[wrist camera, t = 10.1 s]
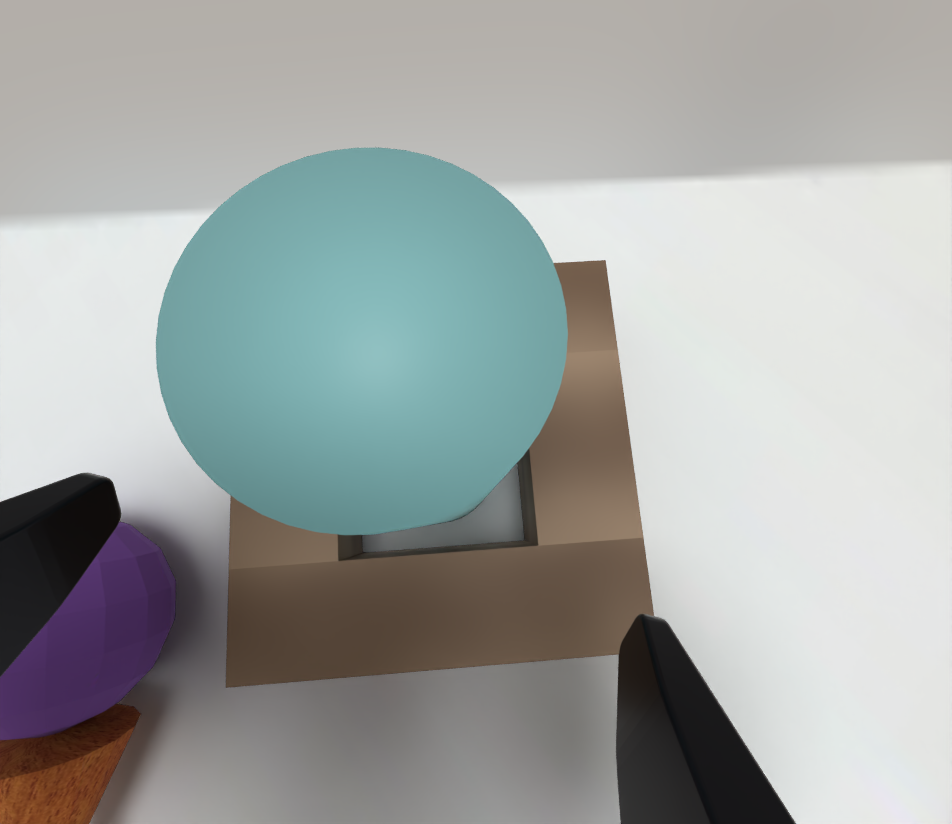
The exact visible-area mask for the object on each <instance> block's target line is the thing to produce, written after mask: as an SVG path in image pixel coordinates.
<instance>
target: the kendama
mask: <svg viewBox="0 0 952 824" xmlns="http://www.w3.org/2000/svg"><path fill="white" fill-rule="evenodd" d="M175 599H176V580H175V578H174V576H173V574H172V571H171V569H170V567H169V565H168V563H167V561H166V559H165V557H164V555H163V553H162V550H161V548H159V547H158V546H157V545H156V544H154V543H153V542H152V541H150V540H149V539H148V538H147V537H145V536H144V535H143V534H142V533H140V532H139V531H138V530H136V529H135V528H134V527H133V526H131V525H130V524H126V523H122V522H119V524H118V526H117V527H116V529H115V530H114V532H113V533H112V535H111V536H110V538H109V539H108V540H107V542H106V543H105V545H104V546H103V547H102V549H101V550H100V552H99V553H98V555H97V556H96V557H95V559H94V560H93V562H92V563H91V564H90V566H89V567H88V569H87V570H86V572H85V573H84V574H83V576H82V577H81V579H80V580H79V581H78V583H77V584H76V586H75V587H74V589H73V590H72V591H71V593H70V594H69V595H68V597H67V598H66V599H65V601H64V602H63V603H62V605H61V606H60V607H59V609H58V610H57V611H56V612H55V614H54V615H53V616H52V617H51V619H50V620H49V621H48V622H47V623H46V624H45V626H44V627H43V628H42V629H41V630H40V632H39V633H38V634H37V635H36V636H35V637H34V639H33V640H32V641H31V642H30V643H29V644H28V646H27V647H26V648H25V649H24V650H23V651H22V653H21V654H20V655H19V656H18V657H17V658H16V660H15V661H14V662H13V663H12V664H11V665H10V667H9V668H8V669H7V670H6V671H5V672H4V674H3V675H2V676H1V677H0V824H89V823H90V821H91V819H92V816H93V814H94V812H95V810H96V808H97V806H98V804H99V802H100V800H101V797H102V795H103V793H104V791H105V789H106V787H107V785H108V783H109V781H110V778H111V776H112V774H113V772H114V770H115V768H116V766H117V764H118V761H119V759H120V757H121V755H122V753H123V751H124V749H125V747H126V745H127V742H128V740H129V738H130V736H131V734H132V732H133V730H134V728H135V726H136V723H137V721H138V719H139V717H140V715H141V713H140V712H139V711H138V710H137V709H136V708H135V707H133V706H126V705H120V704H116V703H118V702H119V701H121V700H122V698H123V697H124V696H125V695H126V694H127V693H128V692H129V691H130V690H131V689H132V688H133V687H134V686H135V685H136V684H137V683H138V682H139V681H140V680H141V679H142V678H143V677H144V676H145V675H146V674H147V672H148V671H149V670H150V669H151V668H152V667H153V665H154V664H155V662H156V660H157V658H158V656H159V653H160V651H161V649H162V647H163V644H164V642H165V640H166V638H167V635H168V633H169V631H170V629H171V626H172V624H173V622H174V620H175Z"/></svg>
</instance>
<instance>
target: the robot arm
mask: <svg viewBox="0 0 952 824" xmlns="http://www.w3.org/2000/svg"><path fill="white" fill-rule="evenodd" d="M120 518H121V510H120V506H119V502H118V498H117V495H116V491H115V487H114V484H113V482H112V481H111V480H110V479H109V478H107V477H104V476H100V475H96V474H92V473H80V474H77V475H74V476H71V477H69V478H66V479H63V480H60V481H57V482H55V483H52V484H49V485H46V486H43V487H41V488H38V489H35V490H32V491H29V492H27V493H24V494H21V495H18V496H15V497H13V498H10V499H7V500H4V501H2V502H0V677H1V676H2V675H3V674H4V672H5V671H6V670H7V669H8V668H9V667H10V665H11V664H12V663H13V662H14V661H15V660H16V658H17V657H18V656H19V655H20V654H21V653H22V651H23V650H24V649H25V648H26V647H27V646H28V644H29V643H30V642H31V641H32V640H33V639H34V637H35V636H36V635H37V634H38V633H39V632H40V630H41V629H42V628H43V627H44V626H45V624H46V623H47V622H48V621H49V620H50V619H51V617H52V616H53V615H54V614H55V612H56V611H57V610H58V609H59V607H60V606H61V605H62V603H63V602H64V601H65V599H66V598H67V597H68V595H69V594H70V593H71V591H72V590H73V589H74V587H75V586H76V584H77V583H78V581H79V580H80V579H81V577H82V576H83V574H84V573H85V572H86V570H87V569H88V567H89V566H90V564H91V563H92V562H93V560H94V559H95V557H96V556H97V555H98V553H99V552H100V550H101V549H102V547H103V546H104V545H105V543H106V542H107V540H108V539H109V538H110V536H111V535H112V533H113V532H114V530H115V529H116V527H117V526H118V524H119V521H120ZM616 761H617V778H618V792H619V805H620V819H621V824H796V823H795V821H794V820H793V818H792V817H791V815H790V813H789V812H788V810H787V809H786V807H785V806H784V804H783V802H782V801H781V799H780V798H779V796H778V795H777V793H776V792H775V790H774V788H773V787H772V785H771V784H770V782H769V781H768V779H767V777H766V776H765V774H764V773H763V771H762V770H761V768H760V766H759V765H758V763H757V762H756V760H755V759H754V757H753V755H752V754H751V752H750V751H749V749H748V748H747V746H746V745H745V743H744V741H743V740H742V738H741V737H740V735H739V734H738V732H737V730H736V729H735V727H734V726H733V724H732V723H731V721H730V719H729V718H728V716H727V715H726V713H725V712H724V710H723V709H722V707H721V705H720V704H719V702H718V701H717V699H716V698H715V696H714V694H713V693H712V691H711V690H710V688H709V687H708V685H707V683H706V682H705V680H704V679H703V677H702V676H701V674H700V672H699V671H698V669H697V668H696V666H695V665H694V663H693V662H692V660H691V658H690V657H689V655H688V654H687V652H686V651H685V649H684V647H683V646H682V644H681V643H680V641H679V640H678V638H677V636H676V635H675V633H674V632H673V630H672V629H671V627H670V626H669V624H668V623H667V622H666V621H665V620H664V619H662V618H659V617H655V616H651V615H647V614H639V615H638V616H637V617H636V618H635V620H634V621H633V623H632V625H631V627H630V628H629V630H628V632H627V633H626V635H625V637H624V638H623V640H622V642H621V645H620V650H619V664H618V697H617V729H616Z"/></svg>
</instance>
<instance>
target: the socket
mask: <svg viewBox="0 0 952 824" xmlns="http://www.w3.org/2000/svg"><path fill="white" fill-rule="evenodd" d="M553 264H554V266H555V269H556V272H557V275H558V278H559V280H560V283H561V287H562V292H563V296H564V301H565V306H566V314H567V329H568V339H567V353H566V362H565V367H564V372H563V376H562V381H561V385H560V388H559V391H558V394H557V396H556V399H555V402H554V405H553V408H552V410H551V412H550V414H549V416H548V418H547V420H546V422H545V423H544V425H543V427H542V429H541V431H540V433H539V435H538V436H537V437H536V439H535V440H534V442H533V443H532V444H531V446H530V447H529V449H528V450H527V451H526V453H525V454H524V456H523V457H522V458H521V459H520V460H519V461H518V471H519V482H520V494H521V505H522V516H523V527H524V538H525V541H512V542H499V543H486V544H473V545H460V546H447V547H434V548H421V549H408V550H395V551H382V552H368V553H362V535H338V534H329V533H319V532H314V531H310V530H306V529H302V528H298V527H294V526H289V525H287V524H284V523H282V522H279V521H277V520H274V519H272V518H269V517H267V516H264V515H262V514H260V513H258V512H256V511H255V510H253V509H251V508H250V507H248V506H246V505H244V504H243V503H241V502H239V501H237V500H236V499H235V498H234V497H232V496H231V504H230V542H229V581H228V619H227V658H226V688H228V687H240V686H251V685H263V684H275V683H287V682H299V681H310V680H322V679H334V678H346V677H357V676H369V675H381V674H393V673H405V672H416V671H428V670H440V669H452V668H464V667H475V666H487V665H499V664H511V663H522V662H534V661H546V660H558V659H570V658H581V657H593V656H605V655H617V654H619V650H620V645H621V642H622V640H623V638H624V637H625V635H626V633H627V632H628V630H629V628H630V627H631V625H632V623H633V621H634V620H635V618H636V617H637V616H638V615H639V614H647V615H651V616H654V612H653V605H652V597H651V590H650V583H649V575H648V568H647V561H646V554H645V546H644V539H643V532H642V524H641V517H640V510H639V502H638V495H637V488H636V480H635V473H634V466H633V458H632V451H631V444H630V436H629V429H628V422H627V415H626V407H625V400H624V393H623V385H622V378H621V371H620V363H619V356H618V349H617V341H616V334H615V327H614V319H613V312H612V305H611V297H610V290H609V283H608V276H607V268H606V261H605V260H601V261H584V262H566V263H553Z"/></svg>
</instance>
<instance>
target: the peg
mask: <svg viewBox="0 0 952 824" xmlns="http://www.w3.org/2000/svg"><path fill="white" fill-rule="evenodd" d="M567 339H568V329H567V314H566V306H565V301H564V296H563V292H562V287H561V283H560V280H559V278H558V275H557V272H556V269H555V266H554V264H553V261H552V259H551V257H550V255H549V253H548V252H547V250H546V248H545V246H544V244H543V242H542V240H541V239H540V237H539V236H538V234H537V233H536V232H535V230H534V229H533V227H532V226H531V224H530V223H529V221H528V220H527V219H526V218H525V217H524V216H523V215H522V214H521V213H520V211H519V210H518V209H517V208H516V207H515V206H514V205H513V204H512V203H511V202H510V201H509V200H508V199H506V198H505V197H504V196H503V195H502V194H501V193H499V192H498V191H497V190H496V189H495V188H493V187H492V186H490V185H489V184H487V183H486V182H484V181H483V180H481V179H480V178H478V177H477V176H475V175H474V174H471V173H470V172H468V171H465V170H463V169H461V168H459V167H457V166H455V165H453V164H451V163H448V162H445V161H443V160H440V159H437V158H434V157H431V156H428V155H424V154H419V153H414V152H410V151H406V150H397V149H388V148H351V149H343V150H335V151H328V152H324V153H321V154H316V155H312V156H307V157H304V158H302V159H299V160H296V161H293V162H291V163H288V164H285V165H282V166H280V167H278V168H276V169H274V170H272V171H270V172H268V173H266V174H264V175H262V176H260V177H259V178H257V179H256V180H254V181H253V182H251V183H249V184H248V185H246V186H245V187H243V188H242V189H240V190H239V191H238V192H236V193H235V194H234V195H233V196H231V197H230V198H229V199H228V200H227V201H225V202H224V203H223V204H222V205H221V206H220V207H218V209H217V210H216V211H215V212H214V213H213V214H212V215H211V216H210V217H209V218H208V219H207V220H206V221H205V222H204V223H203V224H202V226H201V227H200V228H199V230H198V231H197V232H196V234H195V235H194V236H193V238H192V239H191V241H190V242H189V243H188V245H187V246H186V248H185V250H184V251H183V253H182V255H181V257H180V259H179V260H178V262H177V264H176V266H175V268H174V270H173V273H172V275H171V278H170V280H169V283H168V285H167V288H166V290H165V293H164V297H163V301H162V305H161V309H160V313H159V318H158V327H157V337H156V360H157V372H158V377H159V383H160V389H161V394H162V397H163V400H164V403H165V406H166V409H167V412H168V415H169V418H170V420H171V422H172V424H173V426H174V428H175V430H176V432H177V434H178V436H179V438H180V440H181V442H182V443H183V445H184V446H185V447H186V449H187V450H188V452H189V453H190V455H191V456H192V457H193V459H194V460H195V462H196V463H197V464H198V465H199V466H200V467H201V468H202V470H203V471H204V472H205V473H206V474H207V475H208V476H209V477H210V478H211V479H212V480H213V481H214V482H215V483H216V484H217V485H218V486H220V487H221V488H222V489H223V490H225V491H226V492H227V493H229V494H230V495H231V496H232V497H234V498H235V499H236V500H237V501H239V502H241V503H243V504H244V505H246V506H248V507H250V508H251V509H253V510H255V511H256V512H258V513H260V514H262V515H264V516H267V517H269V518H272V519H274V520H277V521H279V522H282V523H284V524H287V525H289V526H294V527H298V528H302V529H306V530H310V531H314V532H319V533H329V534H338V535H373V534H380V533H387V532H393V531H399V530H405V529H411V528H416V527H422V526H427V525H433V524H439V523H444V522H450V521H454V520H457V519H459V518H462V517H464V516H465V515H467V514H469V513H470V512H471V511H473V510H474V509H475V508H476V507H477V506H478V505H479V504H480V503H481V502H482V501H483V500H484V499H485V497H486V496H487V495H488V494H489V493H490V492H491V491H492V490H493V489H494V488H495V486H496V485H497V484H498V483H499V482H500V481H501V480H502V479H503V478H504V477H505V475H506V474H507V473H508V472H509V471H510V470H511V469H512V468H513V467H514V466H515V464H516V463H517V462H518V461H519V460H520V459H521V458H522V457H523V456H524V454H525V453H526V451H527V450H528V449H529V447H530V446H531V444H532V443H533V442H534V440H535V439H536V437H537V436H538V435H539V433H540V431H541V429H542V427H543V425H544V423H545V422H546V420H547V418H548V416H549V414H550V412H551V410H552V408H553V405H554V402H555V399H556V396H557V394H558V391H559V388H560V385H561V381H562V376H563V372H564V367H565V362H566V353H567Z"/></svg>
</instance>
